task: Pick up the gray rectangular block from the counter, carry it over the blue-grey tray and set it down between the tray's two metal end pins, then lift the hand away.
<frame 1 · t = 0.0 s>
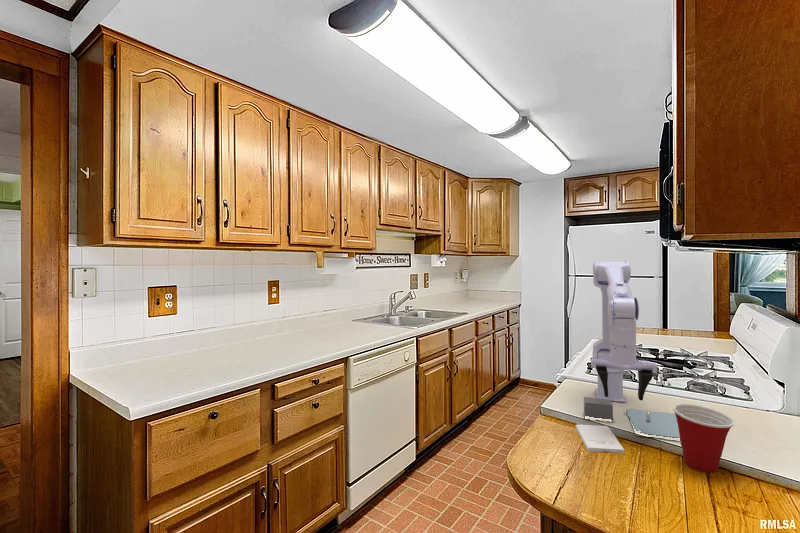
hand: (623, 397, 102), 10 cm above the countertop, tool pointing down, fingers open, 7 cm apart
external hard drive: (598, 442, 101), on the countertop
plastic cup: (702, 466, 88), on the countertop
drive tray: (669, 427, 106), on the countertop
gray rectangular block: (597, 418, 114), on the countertop
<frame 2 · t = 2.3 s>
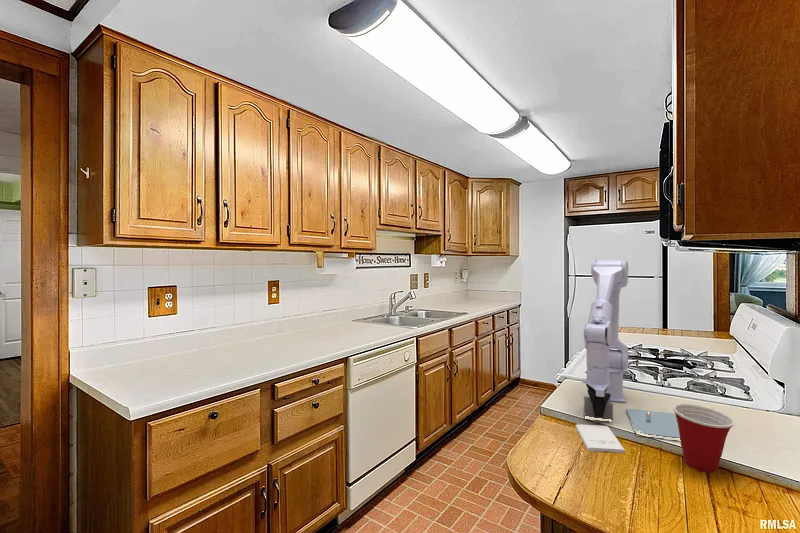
hand: (597, 412, 113), 1 cm above the countertop, tool pointing down, fingers closed on gray rectangular block, 4 cm apart
gray rectangular block: (597, 417, 114), on the countertop, touching gripper
everything else where it was.
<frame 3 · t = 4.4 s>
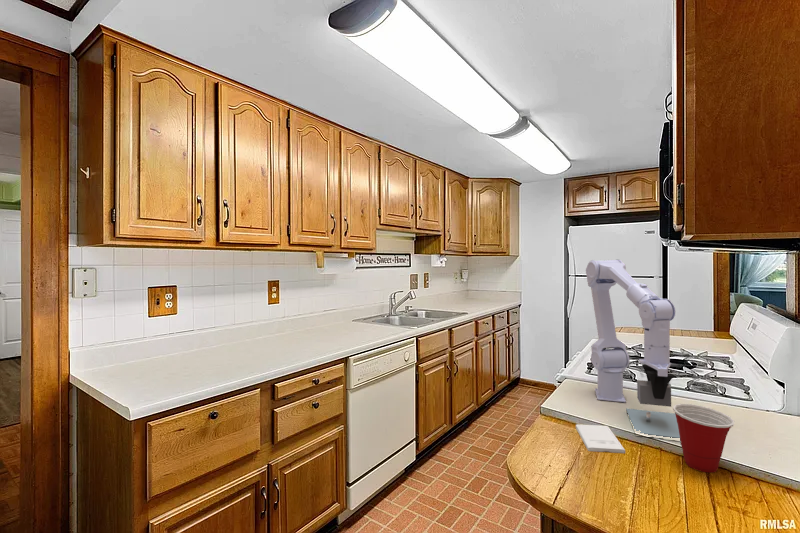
hand: (656, 395, 107), 8 cm above the countertop, tool pointing down, fingers closed on gray rectangular block, 4 cm apart
gray rectangular block: (653, 402, 107), point 6 cm above the countertop, touching gripper
everything else where it was.
when the fingers open (4 cm above the countertop, at t = 6.4 s): gray rectangular block stays where it is, resting on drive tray.
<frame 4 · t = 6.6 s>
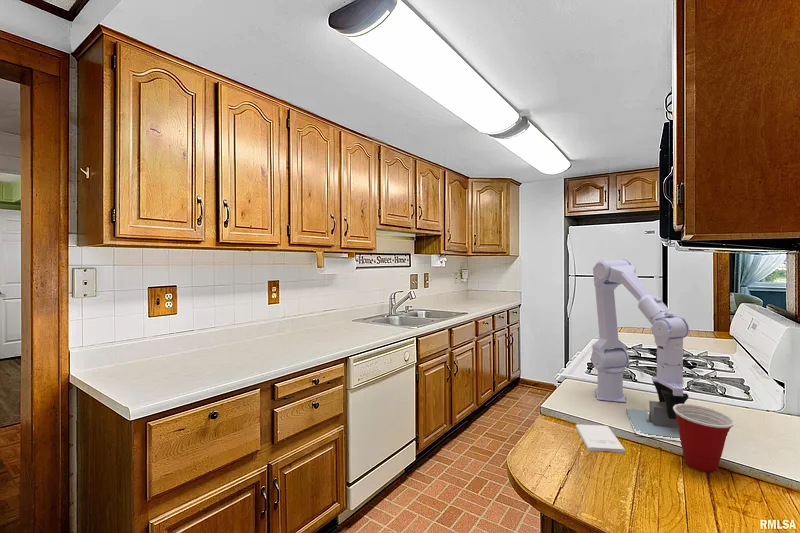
hand: (669, 413, 106), 4 cm above the countertop, tool pointing down, fingers open, 6 cm apart
gray rectangular block: (666, 423, 107), point 1 cm above the countertop, touching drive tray
everything else where it was.
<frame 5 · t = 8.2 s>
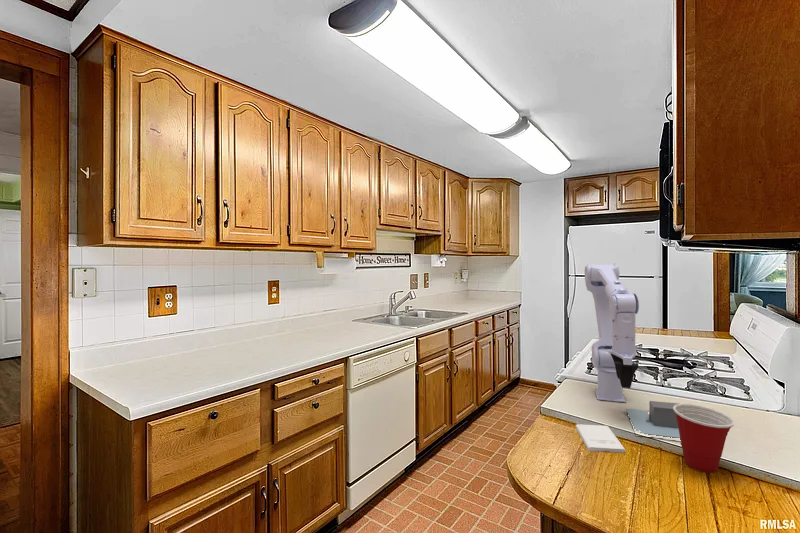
hand: (623, 383, 114), 9 cm above the countertop, tool pointing down, fingers open, 7 cm apart
nothing on the countertop moved.
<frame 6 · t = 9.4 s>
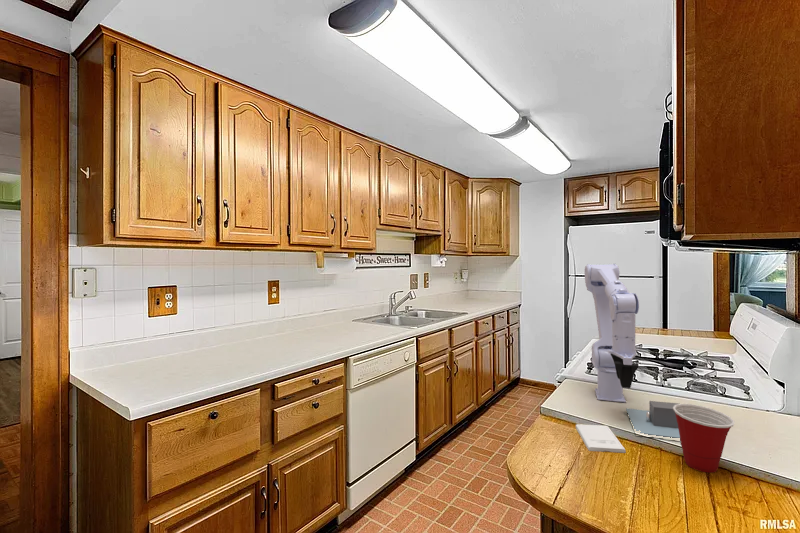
hand: (623, 383, 114), 9 cm above the countertop, tool pointing down, fingers open, 7 cm apart
nothing on the countertop moved.
at the end: gray rectangular block 0.6 cm off-centre on the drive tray, point 1.0 cm above the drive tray's base; gray rectangular block tilted 0°; the gripper is holding nothing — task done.
